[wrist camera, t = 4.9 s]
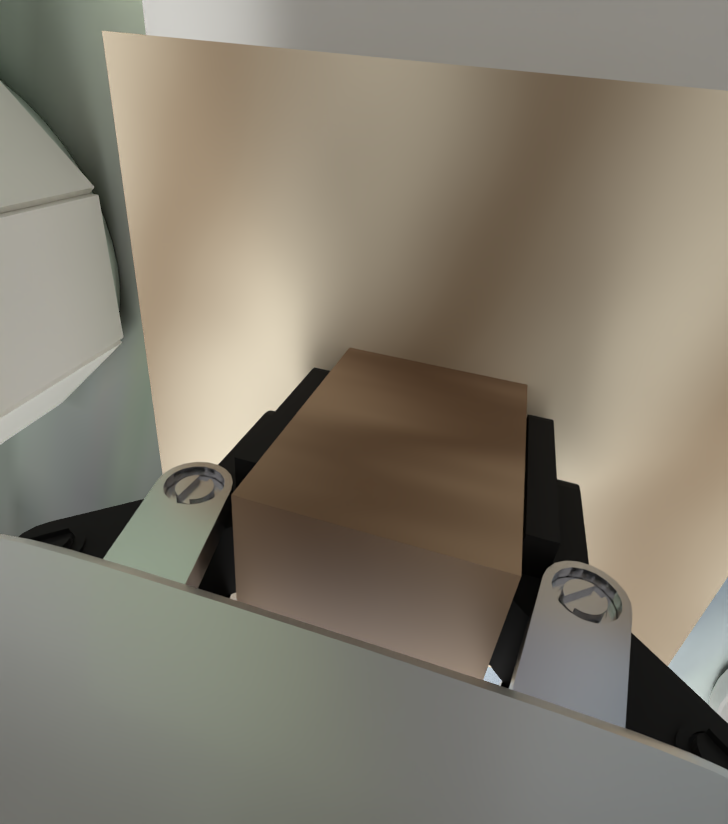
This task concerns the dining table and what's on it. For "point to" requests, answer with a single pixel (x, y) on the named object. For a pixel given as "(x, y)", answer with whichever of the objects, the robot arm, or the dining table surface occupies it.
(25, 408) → the ceramic bowl
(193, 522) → the robot arm
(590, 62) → the grey mat
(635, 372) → the birch lid
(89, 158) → the dining table surface
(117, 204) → the dining table surface
